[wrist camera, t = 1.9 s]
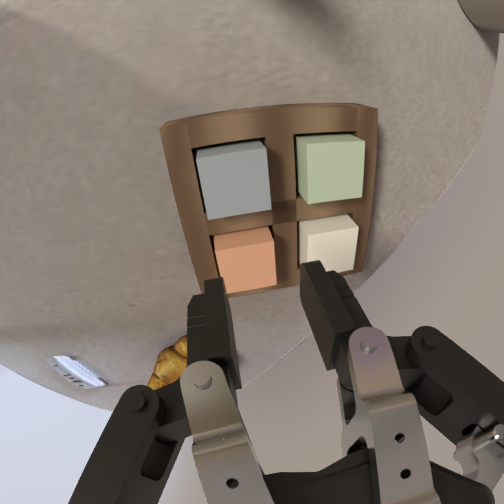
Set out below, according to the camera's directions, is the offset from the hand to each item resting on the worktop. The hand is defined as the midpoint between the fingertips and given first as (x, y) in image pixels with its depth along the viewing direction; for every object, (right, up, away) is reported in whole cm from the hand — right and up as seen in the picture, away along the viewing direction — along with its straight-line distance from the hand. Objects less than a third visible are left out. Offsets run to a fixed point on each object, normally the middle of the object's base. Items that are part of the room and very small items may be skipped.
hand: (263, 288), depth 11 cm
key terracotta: (-1, +2, +16) cm, 16 cm away
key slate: (-2, +8, +11) cm, 14 cm away
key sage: (+6, +9, +12) cm, 16 cm away
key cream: (+7, +3, +17) cm, 18 cm away
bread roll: (-10, -14, +30) cm, 34 cm away
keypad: (+2, +7, +16) cm, 18 cm away
